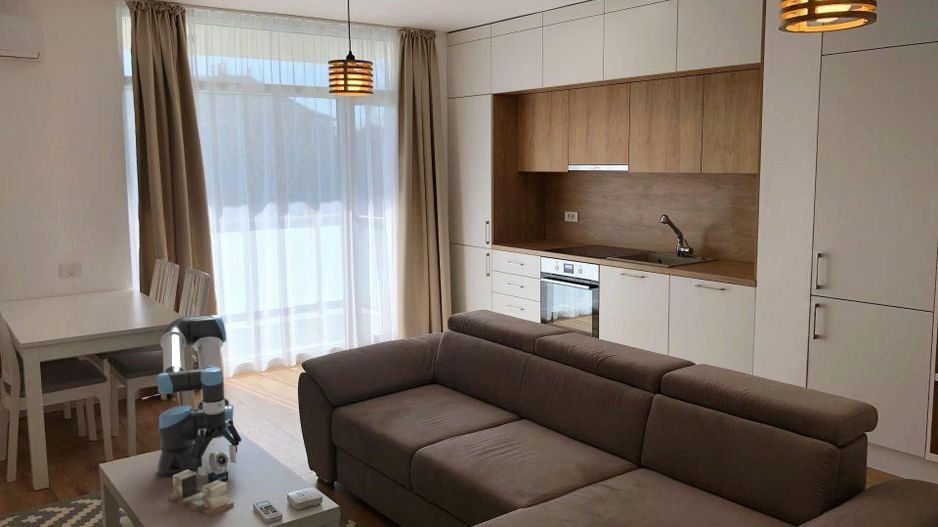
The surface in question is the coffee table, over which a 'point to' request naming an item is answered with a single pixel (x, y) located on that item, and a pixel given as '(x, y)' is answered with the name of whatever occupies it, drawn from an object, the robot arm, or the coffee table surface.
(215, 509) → the rail
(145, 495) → the coffee table surface
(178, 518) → the coffee table surface
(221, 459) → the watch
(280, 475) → the coffee table surface
